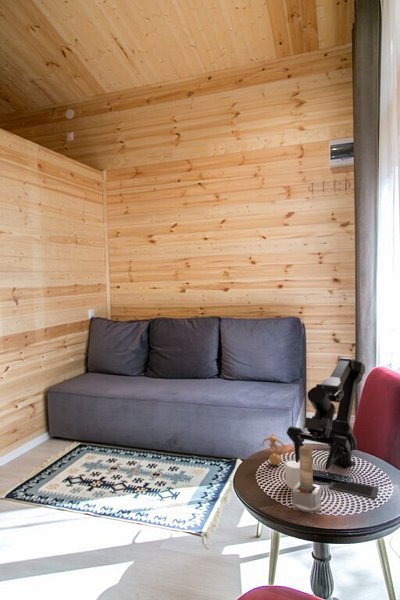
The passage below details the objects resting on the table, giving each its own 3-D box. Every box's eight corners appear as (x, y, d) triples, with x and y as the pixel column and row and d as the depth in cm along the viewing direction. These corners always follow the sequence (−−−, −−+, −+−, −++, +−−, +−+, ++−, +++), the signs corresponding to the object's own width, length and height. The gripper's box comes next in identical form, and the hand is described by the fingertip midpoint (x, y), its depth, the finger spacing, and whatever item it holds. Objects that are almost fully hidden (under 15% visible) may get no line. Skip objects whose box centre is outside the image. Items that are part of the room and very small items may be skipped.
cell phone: (375, 500, 122) (375, 498, 122) (328, 489, 129) (328, 487, 129) (379, 489, 128) (379, 487, 128) (333, 479, 135) (333, 477, 135)
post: (303, 484, 122) (302, 444, 122) (315, 487, 120) (314, 447, 120) (298, 489, 119) (297, 449, 119) (310, 493, 117) (309, 452, 117)
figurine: (287, 464, 147) (287, 431, 146) (284, 471, 141) (283, 437, 141) (265, 460, 150) (264, 428, 150) (260, 467, 145) (259, 434, 144)
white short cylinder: (307, 491, 128) (306, 469, 127) (284, 489, 129) (284, 468, 129) (305, 480, 134) (305, 459, 134) (284, 479, 136) (284, 458, 135)
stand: (299, 495, 125) (299, 477, 125) (325, 502, 121) (324, 484, 120) (288, 506, 119) (288, 488, 119) (315, 515, 114) (314, 496, 114)
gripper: (288, 401, 131) (273, 447, 123) (346, 411, 120) (335, 461, 112) (298, 418, 138) (285, 462, 130) (355, 428, 127) (345, 478, 119)
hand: (311, 465), depth 122 cm, fingers open, 9 cm apart
